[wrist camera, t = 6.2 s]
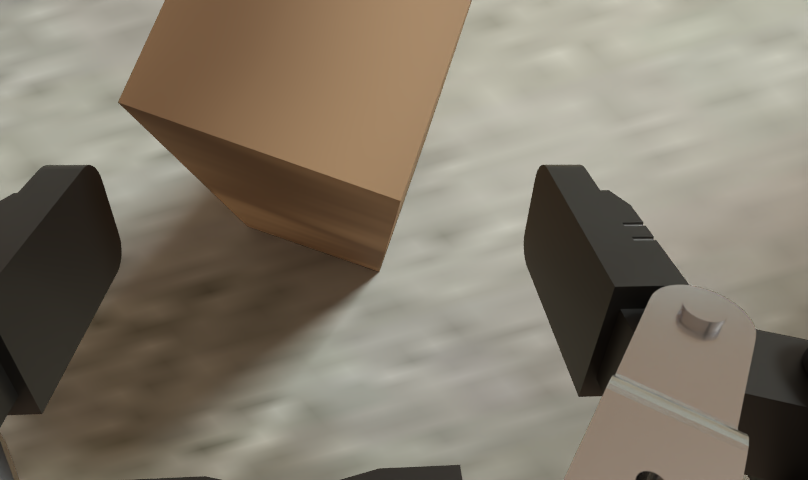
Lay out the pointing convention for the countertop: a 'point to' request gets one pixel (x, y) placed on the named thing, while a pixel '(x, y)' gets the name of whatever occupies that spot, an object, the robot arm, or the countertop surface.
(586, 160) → the countertop surface
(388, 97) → the pillar
